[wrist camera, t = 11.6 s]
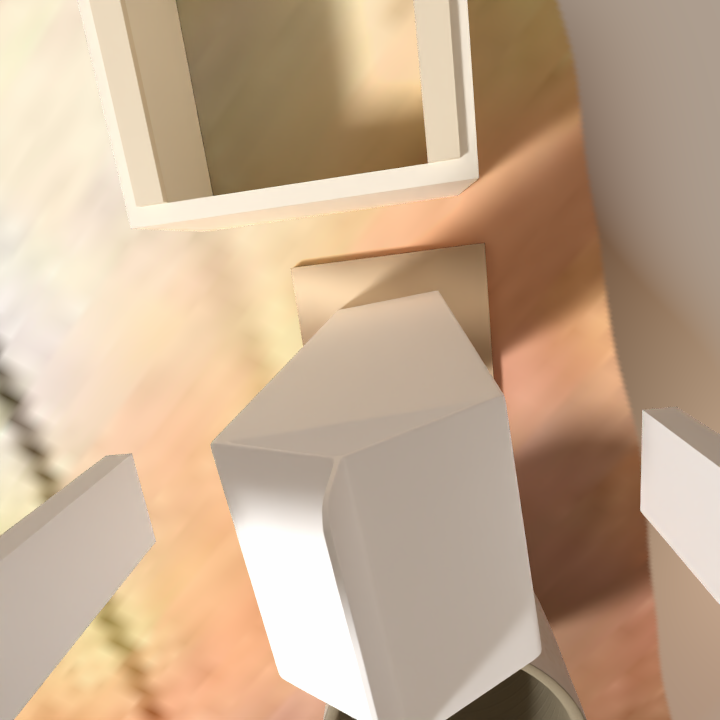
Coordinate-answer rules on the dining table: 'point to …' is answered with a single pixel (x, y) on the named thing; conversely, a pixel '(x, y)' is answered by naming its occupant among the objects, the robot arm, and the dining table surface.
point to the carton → (184, 140)
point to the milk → (384, 515)
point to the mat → (400, 288)
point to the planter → (521, 689)
